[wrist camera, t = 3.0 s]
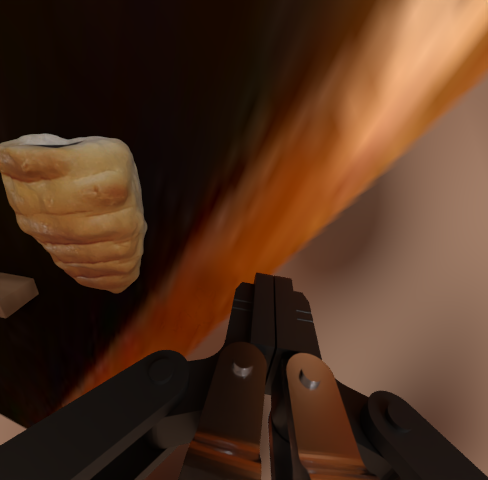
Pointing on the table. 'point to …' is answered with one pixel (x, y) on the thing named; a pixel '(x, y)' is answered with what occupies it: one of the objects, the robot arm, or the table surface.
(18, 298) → the rail
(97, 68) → the table surface
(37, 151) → the pastry
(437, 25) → the table surface
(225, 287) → the table surface
